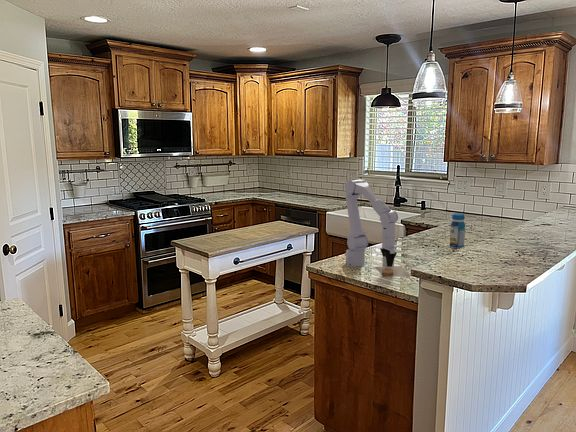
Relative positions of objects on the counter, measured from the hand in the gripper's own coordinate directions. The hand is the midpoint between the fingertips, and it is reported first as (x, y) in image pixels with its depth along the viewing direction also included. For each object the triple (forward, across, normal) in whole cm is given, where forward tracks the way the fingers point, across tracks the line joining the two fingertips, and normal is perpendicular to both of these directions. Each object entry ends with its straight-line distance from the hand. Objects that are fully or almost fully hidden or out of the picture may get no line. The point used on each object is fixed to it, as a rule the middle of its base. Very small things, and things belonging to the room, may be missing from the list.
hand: (387, 264), depth 211 cm
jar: (+4, 0, 0) cm, 4 cm away
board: (+5, +3, -3) cm, 7 cm away
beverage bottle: (+5, +51, -55) cm, 75 cm away
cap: (+1, 0, 0) cm, 1 cm away
